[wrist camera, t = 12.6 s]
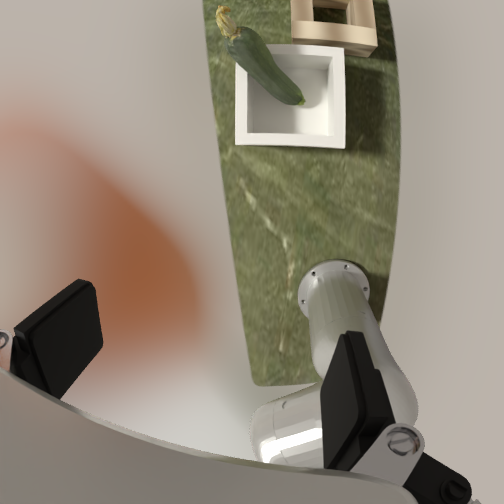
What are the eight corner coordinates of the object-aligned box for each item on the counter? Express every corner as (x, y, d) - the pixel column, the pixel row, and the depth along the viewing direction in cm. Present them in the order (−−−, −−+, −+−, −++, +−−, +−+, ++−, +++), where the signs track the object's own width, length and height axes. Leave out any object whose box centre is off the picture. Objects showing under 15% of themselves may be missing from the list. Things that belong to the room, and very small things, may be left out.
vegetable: (285, 118, 41) (193, 32, 24) (280, 98, 42) (194, 15, 25) (312, 107, 38) (228, 10, 22) (306, 87, 39) (226, -5, 23)
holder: (361, -1, 33) (369, -17, 27) (367, 57, 37) (377, 46, 31) (290, -8, 34) (289, -25, 29) (292, 50, 38) (292, 37, 33)
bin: (335, 63, 38) (343, 48, 31) (335, 148, 43) (345, 148, 35) (244, 61, 40) (236, 45, 32) (244, 145, 44) (235, 144, 37)
